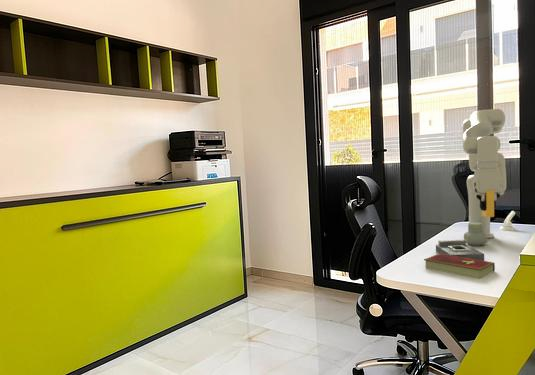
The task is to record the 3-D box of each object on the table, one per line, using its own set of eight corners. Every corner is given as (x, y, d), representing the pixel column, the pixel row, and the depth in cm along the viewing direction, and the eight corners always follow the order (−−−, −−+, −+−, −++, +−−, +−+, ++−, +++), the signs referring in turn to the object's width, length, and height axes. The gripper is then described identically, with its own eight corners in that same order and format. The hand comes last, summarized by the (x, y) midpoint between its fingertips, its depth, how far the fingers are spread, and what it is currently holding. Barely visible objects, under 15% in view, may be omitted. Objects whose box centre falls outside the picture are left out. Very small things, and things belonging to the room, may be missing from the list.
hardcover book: (439, 262, 166) (439, 252, 165) (494, 272, 149) (494, 261, 149) (424, 269, 158) (423, 258, 158) (480, 280, 142) (480, 268, 141)
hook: (527, 219, 217) (520, 213, 214) (514, 238, 218) (506, 232, 215) (515, 215, 224) (508, 209, 221) (502, 232, 225) (495, 227, 222)
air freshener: (488, 247, 185) (488, 225, 184) (468, 247, 186) (468, 225, 186) (481, 241, 195) (481, 221, 194) (462, 241, 197) (462, 221, 196)
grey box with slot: (435, 251, 182) (435, 240, 181) (466, 250, 181) (465, 239, 180) (450, 262, 164) (450, 250, 163) (484, 261, 163) (484, 249, 162)
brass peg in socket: (481, 215, 173) (481, 189, 172) (488, 215, 173) (488, 189, 172) (486, 217, 169) (486, 190, 168) (494, 216, 168) (494, 190, 167)
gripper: (503, 164, 172) (503, 208, 174) (463, 166, 173) (463, 209, 175) (512, 165, 165) (512, 210, 166) (471, 167, 166) (471, 212, 167)
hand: (487, 209), depth 170 cm, fingers closed on brass peg in socket, 3 cm apart
